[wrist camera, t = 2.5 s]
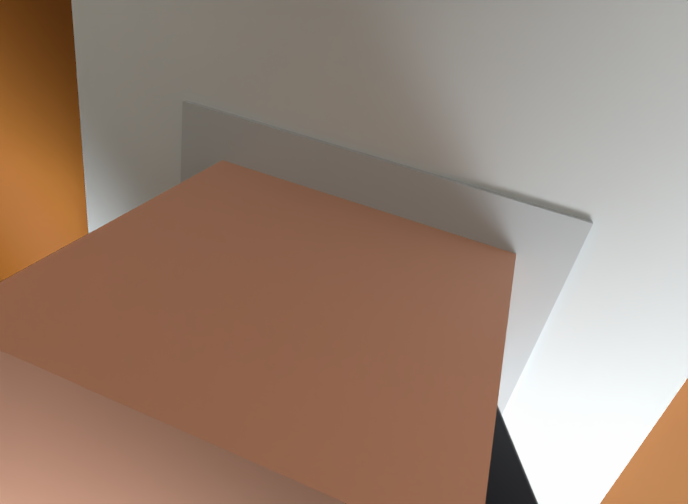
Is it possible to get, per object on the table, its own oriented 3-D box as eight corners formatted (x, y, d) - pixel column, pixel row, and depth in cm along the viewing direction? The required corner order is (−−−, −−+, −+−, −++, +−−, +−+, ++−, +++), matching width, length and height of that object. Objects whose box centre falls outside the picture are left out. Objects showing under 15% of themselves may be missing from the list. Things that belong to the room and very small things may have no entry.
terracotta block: (207, 375, 11) (9, 604, 7) (221, 160, 9) (-70, 320, 5) (429, 467, 10) (348, 794, 6) (515, 253, 8) (476, 561, 4)
